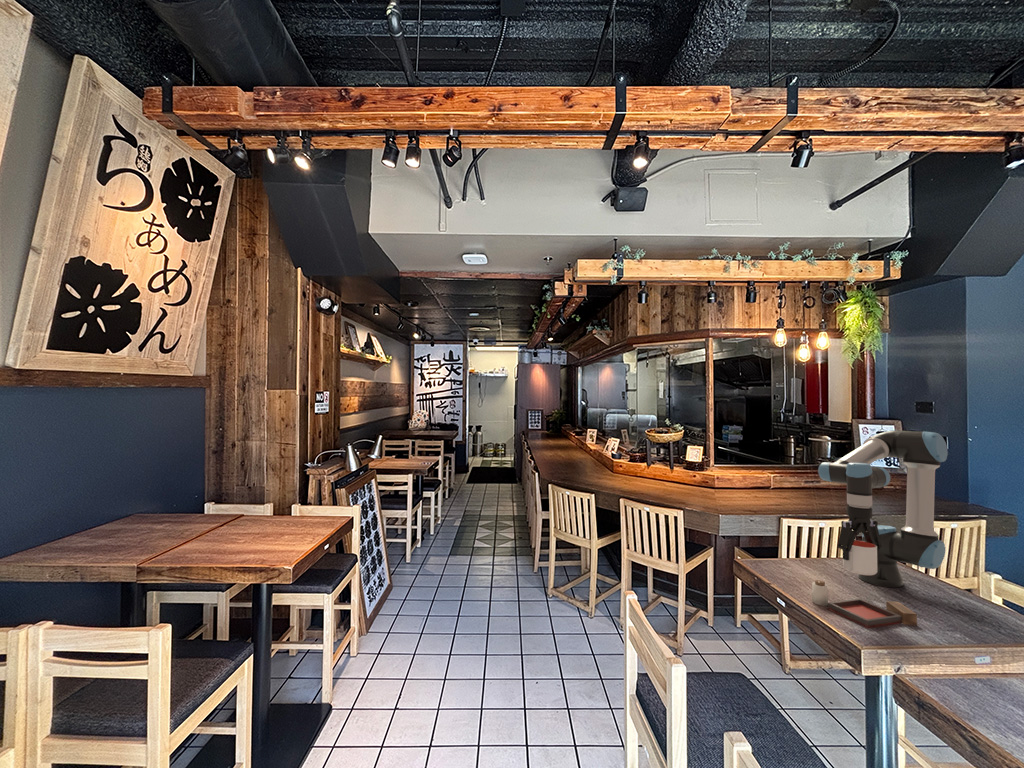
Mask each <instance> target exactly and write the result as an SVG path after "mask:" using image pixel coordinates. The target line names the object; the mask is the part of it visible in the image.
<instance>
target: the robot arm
mask: <svg viewBox="0 0 1024 768" xmlns="http://www.w3.org/2000/svg"><path fill="white" fill-rule="evenodd" d="M948 455H949V454H948V447H947V443H946V440H945V439H944V437H943V436H942V435H941V434H940V433H938V432H933V431H921V430H920V431H918V430H916V431H915V430H897V429H895V430H893V429H892V430H887V431H883V432H880V433H877V434H875V435H872V436H871V437H870V436H869V438H867V439H866V440H864V442H863V443H862V445H860V446H859V447H856V449H854V450H852V451H850V452H849V453H847V454H845V455H844V456H843V457H839V458H838V459H837V460H835V461H834V462H830V461H827V462H826V461H824V462H821V463H820V464H819V466H818V471H817V472H818V476H819V478H820V480H822V481H825V482H829V483H838V484H844V485H845V484H846V503H847V505H846V515H847V516H848V520H847V521H845V520H841V521H840V522H841V529H840V533H839V536H838V538H839V539H838V541H837V547H836V548H838V549H840V550H842V560H843V559H844V567H843V568H844V569H845V568H846V569H848V570H852V552H851V551H850V550H851V547H852V545H853V543H854V541H855V540H856V538H857V536H859V534H861V533H862V535H861V537H862V540H861V541H864V542H868V543H872V544H874V545H876V546H877V573H876V574H875V575H860V574H857V577H858V579H860V580H861V581H863V582H866V583H869V584H871V585H875V586H881V587H886V588H901V587H903V586H904V579H903V577H902V575H901V572H900V569H899V566H898V562H900V563H905V564H909V565H913V566H916V567H919V568H925V569H931V570H935V569H938V568H939V567H940V566H941V565H942V563H943V561H944V559H945V555H946V544H945V543H944V541H943V540H941V539H939V534H938V533H937V532H936V531H935V530H934V528H935V525H934V523H935V522H934V521H935V490H936V489H935V487H936V485H935V483H936V481H935V480H936V470H937V469H938V468H940V467H941V463H944V462H946V460H947V458H948ZM885 458H899V459H902V464H904V465H905V466H906V467H907V476H906V502H905V503H906V507H905V510H906V511H905V525H904V526H903V527H901V528H900V532H899V531H898V530H897V528H896V527H894V526H892V525H883V524H882V525H881V524H880V525H879V523H878V521H877V520H874V519H873V508H872V507H873V489H880V488H883V487H886V486H888V485H889V484H890V482H891V474H890V473H889V471H888V470H887V469H886V468H883V467H881V466H872V465H871V464H873V463H875V462H876V461H877V460H883V459H885ZM846 569H845V570H846ZM848 570H847V571H848Z"/></svg>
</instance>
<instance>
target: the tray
mask: <svg viewBox="0 0 1024 768" xmlns="http://www.w3.org/2000/svg"><path fill="white" fill-rule="evenodd" d="M827 610H828V611H831V612H833V613H836V614H837V615H839V616H841V617H843V618H845V619H847V620H850V621H852V622H854V623H856V624H858V625H860V626H862V627H864V628H866V629H870V628H871V629H872V628H877V627H885V626H886V627H887V626H891V625H892V626H893V625H898V624H903V623H902V619H901V616H900V615H897V614H895V613H893V612H890V611H888V610H887V608H886V609H885V608H883V607H880V606H878V605H876V604H874V603H871V602H869V601H866V600H864V599H862V598H852V599H847V600H837V601H831V602H829V601H828V606H827Z"/></svg>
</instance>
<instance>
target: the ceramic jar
mask: <svg viewBox="0 0 1024 768" xmlns="http://www.w3.org/2000/svg"><path fill="white" fill-rule="evenodd" d="M811 591H812V593H811V596H812V603H813V604H815V605H818V606H821V607H828V602H829V585H828V584H827V583H826V582H825V581H823V580H818V579H815V580H814V581H812V583H811Z"/></svg>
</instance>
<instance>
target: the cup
mask: <svg viewBox="0 0 1024 768" xmlns="http://www.w3.org/2000/svg"><path fill="white" fill-rule="evenodd" d="M850 551H851V552H852V570H848V569H846V568H844V559H843V558H842V566H843V568H844V570H846V571H848V572H849V573H853V574H856V575H858V574H860V575H875V574H876V573H877V546H876V545H874V544H872V543H868V542H864V541H862V540H859V539H858V540H856V539H855V541H854V543H853V545H852V547H851V550H850Z"/></svg>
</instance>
